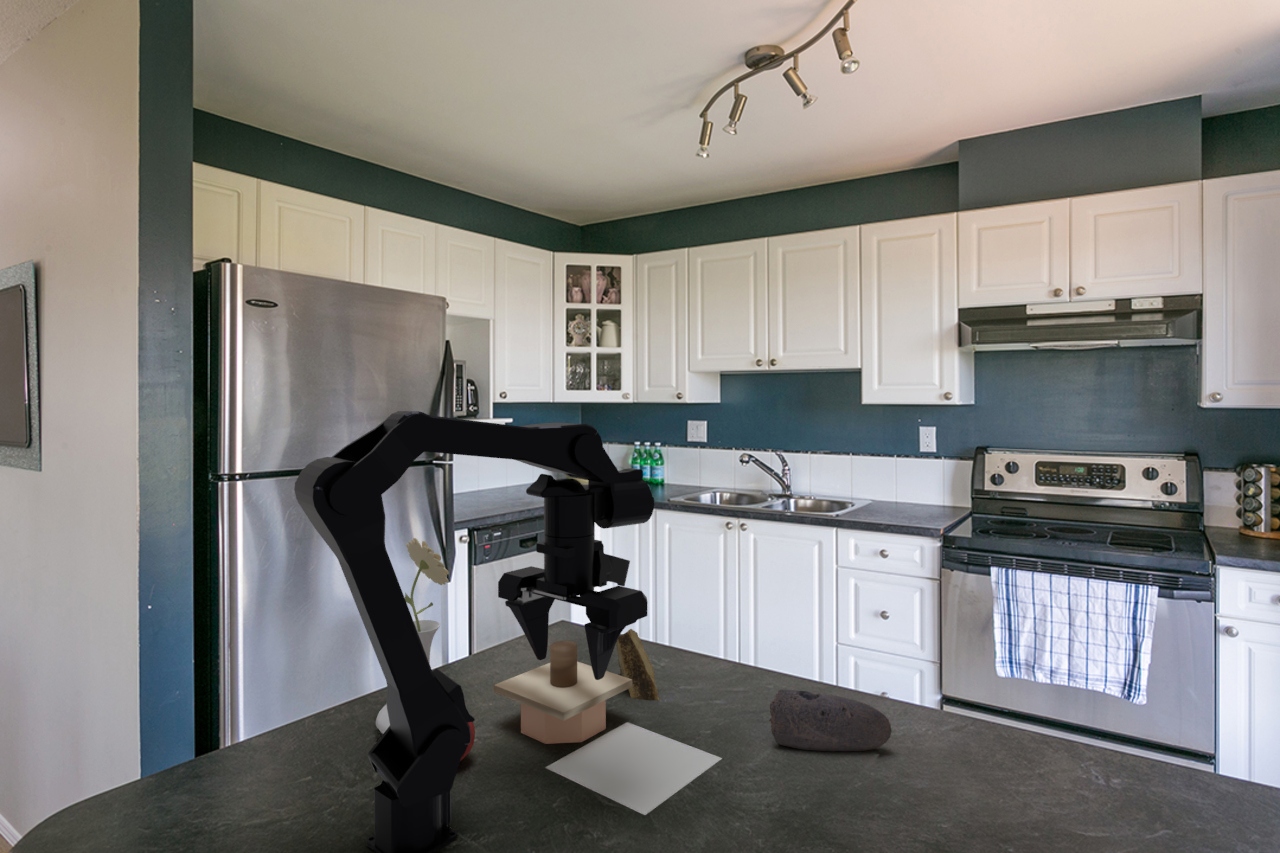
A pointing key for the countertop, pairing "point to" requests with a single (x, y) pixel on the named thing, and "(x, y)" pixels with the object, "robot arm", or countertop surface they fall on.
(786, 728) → the perforated stone tool
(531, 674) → the board
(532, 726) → the octagonal clay planter
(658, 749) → the mat
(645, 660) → the rock
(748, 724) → the countertop surface
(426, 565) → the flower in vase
